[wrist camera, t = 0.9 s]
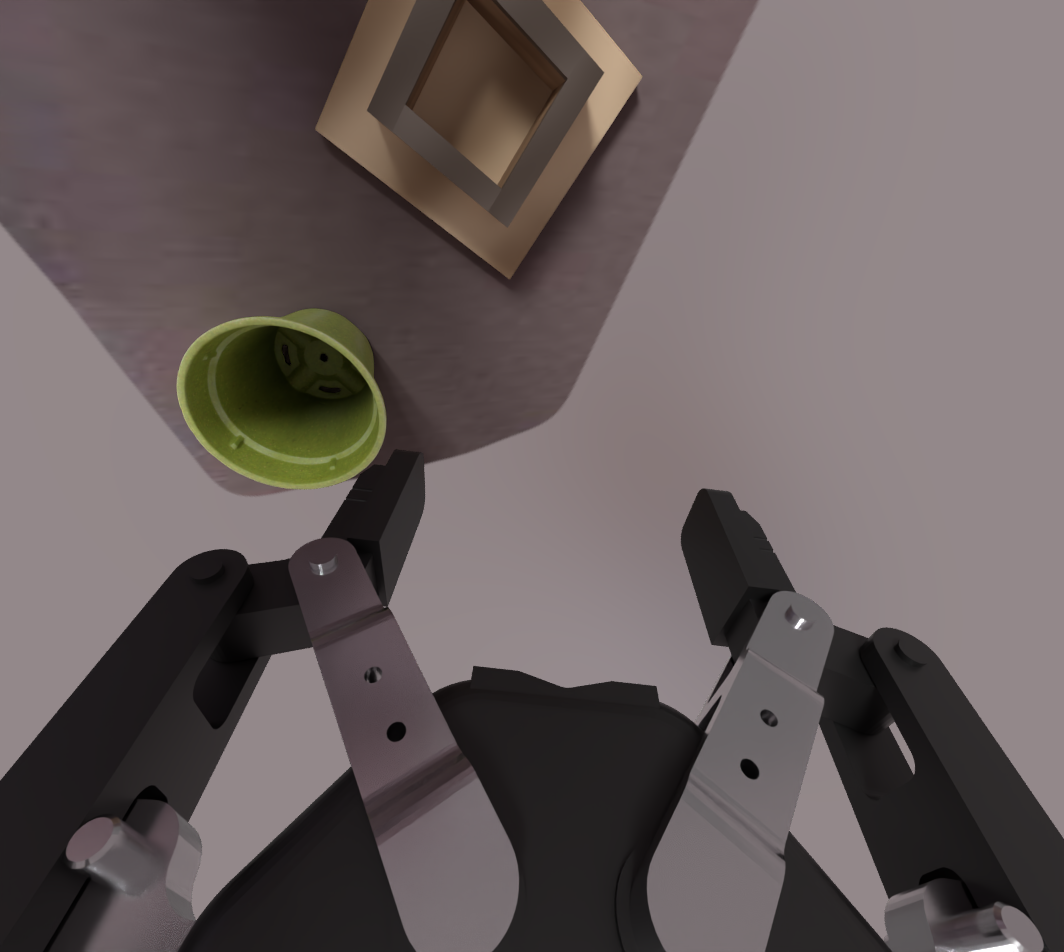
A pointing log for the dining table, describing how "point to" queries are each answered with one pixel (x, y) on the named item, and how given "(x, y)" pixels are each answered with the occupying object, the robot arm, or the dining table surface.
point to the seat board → (478, 110)
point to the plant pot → (285, 398)
